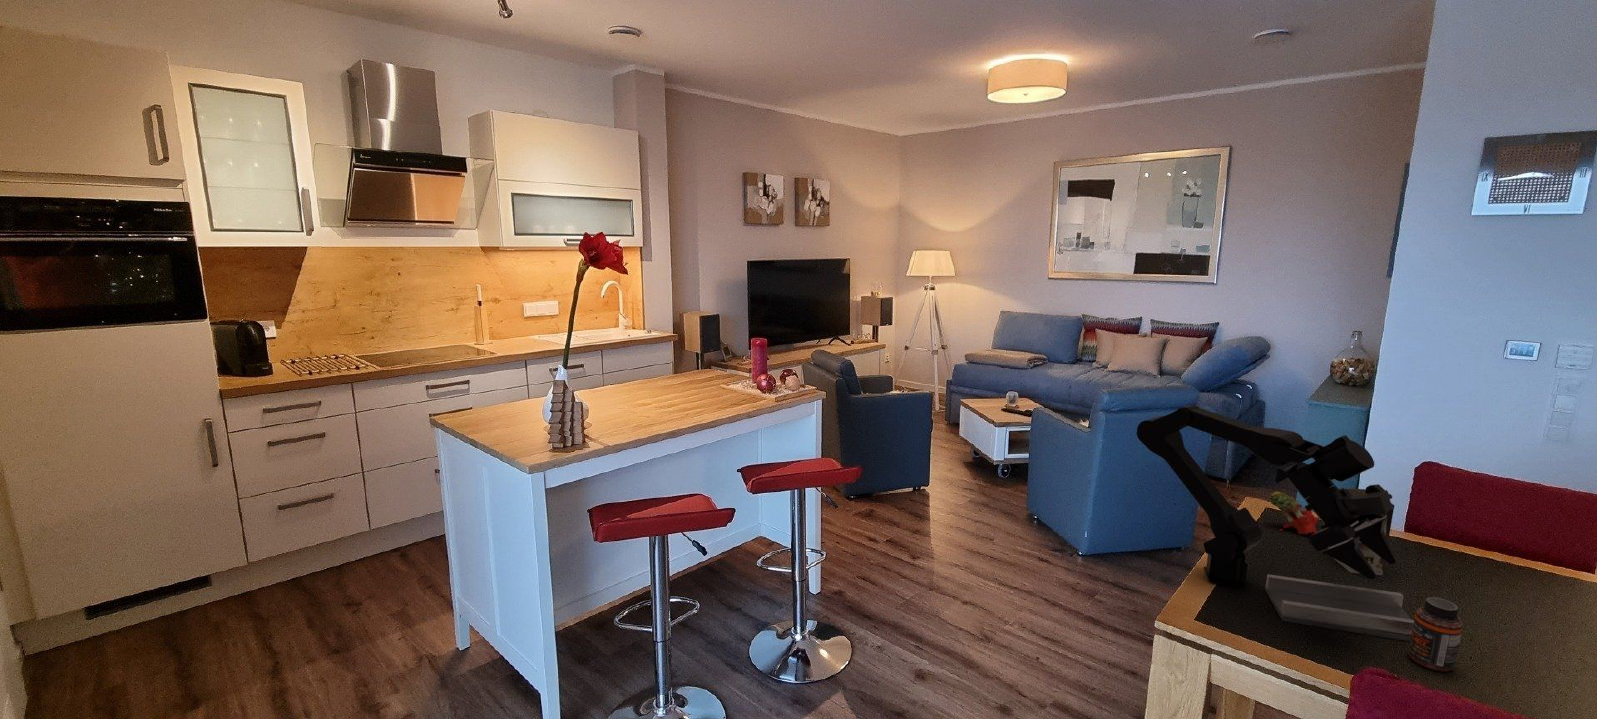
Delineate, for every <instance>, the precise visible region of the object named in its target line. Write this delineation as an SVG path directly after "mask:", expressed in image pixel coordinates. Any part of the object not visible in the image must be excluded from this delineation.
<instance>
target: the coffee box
mask: <svg viewBox="0 0 1597 719" xmlns="http://www.w3.org/2000/svg"><path fill="white" fill-rule="evenodd" d="M1338 488H1339V487H1338ZM1340 489H1341V487H1340V488H1339V490H1340ZM1346 489H1347V490H1348V491H1349V492H1350V493H1351V494H1359V493H1361V492H1364V493H1365V490H1366V488H1346ZM1391 504H1392V507H1393V510H1389V511H1388V514H1387V515H1386V516H1384V517H1383V518H1380V519H1379V518H1377V519H1378V520H1379V521H1380V520H1382V519H1384V518H1387V521H1386V523H1385V527H1384V533H1385V536H1386V538H1387V541H1388V542H1389V540H1390V533H1391V528H1392V521H1393V516H1394V509H1395V506H1396V505H1395V504H1393V503H1392V502H1391ZM1354 531H1355V529H1354ZM1352 538H1355V537H1354V536H1353V537H1352ZM1359 549H1360V551H1361V552H1362V554H1363V555H1364V557H1365V558H1366V560H1367V561H1368V563H1369V564H1370V566H1371V567H1372V569H1373V571H1374V572H1375V574H1376V576H1383V574H1384V570H1385V569H1384V568H1385V564H1386V563H1385V562H1386V561H1385V560H1384V559H1382V558H1381V557H1379V556H1378V555H1377V554H1376V553H1374V552H1373V551H1372V550H1370V549H1369V548H1368V547H1367V546H1365V545H1364V544H1363V543H1361V542H1360V541H1359ZM1334 560H1335V561H1336V562H1337V563H1338V564H1340V566H1342V567H1343V568H1344V569H1345V570H1347V571H1348V572H1349V573H1351V574H1359V575H1362V574H1361V573H1359V572H1357V571H1356V570H1354V569H1352V568H1351V567H1349V566H1347V565H1345V564H1344V563H1342V562H1340V561H1338V560H1336V559H1334Z"/></svg>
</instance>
